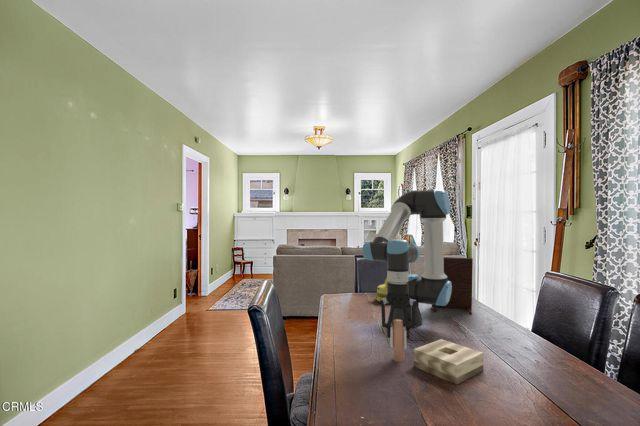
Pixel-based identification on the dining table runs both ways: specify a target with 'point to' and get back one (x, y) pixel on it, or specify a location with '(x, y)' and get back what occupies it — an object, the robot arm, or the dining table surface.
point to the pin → (398, 340)
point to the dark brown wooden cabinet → (458, 283)
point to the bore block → (448, 360)
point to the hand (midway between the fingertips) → (398, 346)
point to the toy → (382, 291)
